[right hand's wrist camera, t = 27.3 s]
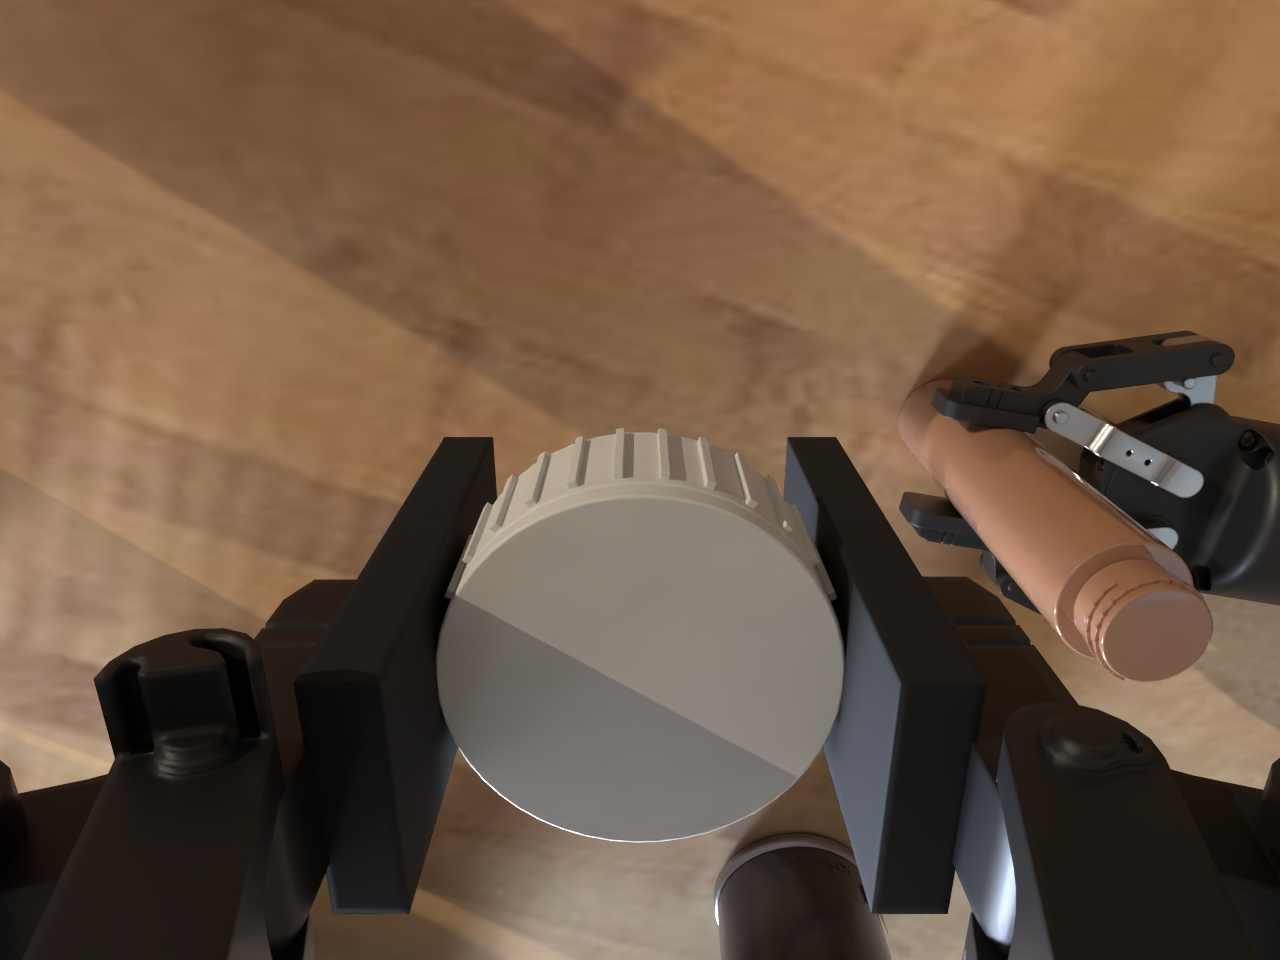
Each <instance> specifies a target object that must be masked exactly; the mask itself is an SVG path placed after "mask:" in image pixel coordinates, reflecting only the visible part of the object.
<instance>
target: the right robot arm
mask: <svg viewBox="0 0 1280 960" xmlns="http://www.w3.org/2000/svg"><path fill="white" fill-rule="evenodd" d="M496 500H497V491H496V475H495V460H494V445H493V437H444V439H443V441H442V442H441V444H440V445H439V447H438V449H437V450H436V452H435V454H434V455H433V457H432V458H431V460H430V462H429V463H428V465H427V466H426V468H425V470H424V471H423V473H422V475H421V476H420V478H419V479H418V481H417V483H416V484H415V486H414V488H413V489H412V491H411V492H410V494H409V496H408V497H407V499H406V500H405V502H404V504H403V505H402V507H401V509H400V510H399V512H398V513H397V515H396V517H395V518H394V520H393V522H392V523H391V525H390V526H389V528H388V530H387V531H386V533H385V535H384V536H383V538H382V539H381V541H380V543H379V544H378V546H377V547H376V549H375V551H374V552H373V554H372V556H371V557H370V559H369V560H368V562H367V564H366V565H365V567H364V569H363V570H362V572H361V573H360V575H359V577H358V578H357V580H314V581H312V582H310V583H309V584H307V585H306V586H304V587H303V588H301V589H300V590H298V591H297V592H295V593H293V594H292V595H290V596H289V597H287V598H286V599H284V600H283V601H282V603H281V604H280V605H279V607H278V608H277V609H276V611H275V612H274V613H273V615H272V616H271V617H270V619H269V620H268V621H267V623H266V628H262V629H261V631H260V632H259V633H258V635H257V636H256V638H255V639H253V638H251V637H250V636H249V635H248V634H246V633H242V632H237V631H233V630H229V629H225V628H220V629H193V630H188V631H183V632H178V633H173V634H168V635H164V636H161V637H158V638H156V639H153V640H150V641H148V642H145V643H142V644H140V645H137V646H134V647H133V648H131V649H130V650H128V651H126V652H125V653H123V654H121V655H120V656H118V657H116V658H115V659H113V660H111V661H110V662H109V663H108V664H107V665H106V666H105V667H104V668H103V669H102V670H101V671H100V673H99V674H98V675H97V676H96V677H95V678H94V682H95V686H96V690H97V693H98V697H99V701H100V704H101V708H102V712H103V716H104V719H105V723H106V727H107V730H108V734H109V738H110V741H111V745H112V749H113V753H114V756H115V760H114V763H113V765H112V767H111V769H110V771H109V773H108V774H106V775H102V776H99V777H95V778H91V779H87V780H82V781H78V782H73V783H68V784H63V785H58V786H53V787H48V788H44V789H39V790H34V791H29V792H24V793H19V794H18V791H17V788H16V785H15V782H14V779H13V776H12V773H11V770H10V768H9V767H8V766H7V765H5V764H4V763H3V762H2V761H1V760H0V960H314V957H315V944H314V937H313V930H312V925H311V919H310V914H309V911H310V909H311V907H312V904H313V902H314V899H315V897H316V895H317V892H318V890H319V887H320V885H321V883H322V880H323V878H324V875H325V873H326V877H327V882H328V888H329V894H330V900H331V906H332V912H333V914H409V913H410V909H411V906H412V902H413V899H414V895H415V892H416V888H417V885H418V882H419V878H420V875H421V871H422V868H423V864H424V861H425V858H426V854H427V851H428V847H429V844H430V840H431V837H432V833H433V830H434V827H435V823H436V820H437V816H438V813H439V809H440V806H441V803H442V799H443V796H444V792H445V789H446V785H447V782H448V778H449V775H450V772H451V768H452V765H453V761H454V758H455V754H456V751H457V748H458V746H457V745H456V743H455V741H454V739H453V737H452V735H451V733H450V731H449V728H448V726H447V724H446V722H445V719H444V716H443V712H442V709H441V705H440V702H439V693H438V683H437V673H436V650H437V644H438V638H439V632H440V629H441V626H442V623H443V620H444V617H445V614H446V611H447V608H448V606H449V603H450V601H451V599H449V598H446V597H445V594H446V591H447V589H448V586H449V584H450V581H451V579H452V577H453V574H454V572H455V569H456V567H457V564H458V562H459V560H460V557H461V555H462V552H463V550H464V547H465V545H466V543H467V540H468V538H469V535H470V534H471V535H473V533H474V530H475V528H476V525H477V523H478V520H479V518H480V515H481V513H482V510H483V508H484V506H485V505H486V504H487V502H488V503H490V504H492V505H493V504H494V503H495V501H496ZM784 500H785V501H786V502H787V504H788V505H789V507H790V506H791V505H793V504H795V505H796V506H797V508H798V509H799V512H800V514H801V517H802V519H803V522H804V524H805V527H806V529H807V532H808V534H809V536H812V538H813V540H814V542H815V545H816V547H817V550H818V552H819V555H820V557H821V559H822V562H823V564H824V567H825V569H826V572H827V574H828V576H829V579H830V581H831V584H832V586H833V588H834V591H835V594H836V596H837V599H835V600H832V601H831V604H832V606H833V608H834V611H835V613H836V616H837V618H838V622H839V626H840V629H841V633H842V637H843V641H844V650H845V669H844V680H843V690H842V699H841V706H840V711H839V713H838V716H837V718H836V721H835V724H834V726H833V729H832V732H831V734H830V736H829V737H828V739H827V741H826V743H825V745H824V746H823V749H824V753H825V756H826V759H827V763H828V766H829V770H830V773H831V777H832V780H833V783H834V787H835V790H836V794H837V797H838V801H839V804H840V807H841V811H842V814H843V818H844V821H845V825H846V828H847V832H848V835H849V838H850V842H851V845H852V849H853V852H854V856H855V859H856V862H857V866H858V869H859V873H860V876H861V880H862V883H863V887H864V890H865V893H866V897H867V900H868V904H869V907H870V911H871V914H948V909H949V903H950V897H951V892H952V886H953V880H954V874H955V869H956V872H957V874H958V877H959V879H960V881H961V884H962V886H963V888H964V891H965V893H966V896H967V898H968V900H969V903H970V905H971V908H972V909H971V914H970V919H969V925H968V930H967V936H966V941H965V946H964V952H963V957H962V960H1280V758H1279V759H1278V760H1277V761H1275V762H1274V763H1273V764H1272V766H1271V769H1270V772H1269V775H1268V778H1267V781H1266V784H1265V788H1264V790H1261V789H1256V788H1252V787H1247V786H1242V785H1237V784H1232V783H1227V782H1222V781H1217V780H1213V779H1208V778H1203V777H1198V776H1193V775H1189V774H1186V773H1182V772H1178V771H1175V770H1171V769H1170V767H1169V765H1168V763H1167V761H1166V759H1165V757H1164V756H1163V755H1162V753H1161V752H1160V751H1159V749H1158V748H1157V747H1156V745H1155V744H1154V743H1153V742H1152V740H1151V739H1150V738H1149V737H1147V736H1146V735H1144V734H1143V733H1142V732H1140V731H1139V730H1137V729H1136V728H1134V727H1133V726H1132V725H1130V724H1129V723H1127V722H1126V721H1123V720H1121V719H1119V718H1116V717H1114V716H1112V715H1109V714H1107V713H1105V712H1103V711H1100V710H1098V709H1093V708H1089V707H1085V706H1080V705H1078V703H1077V702H1076V701H1075V699H1074V698H1073V697H1072V695H1071V694H1070V693H1069V691H1068V690H1067V689H1066V687H1065V686H1064V685H1063V683H1062V682H1061V681H1060V679H1059V678H1058V677H1057V675H1056V674H1055V673H1054V671H1053V670H1052V669H1051V667H1050V666H1049V665H1048V663H1047V662H1046V661H1045V659H1044V658H1043V657H1042V655H1041V654H1040V653H1039V651H1038V650H1037V649H1036V647H1035V646H1034V645H1030V639H1029V638H1028V637H1027V635H1026V634H1025V633H1024V631H1023V630H1022V629H1021V627H1020V626H1019V625H1016V624H1015V619H1014V618H1013V617H1012V615H1011V614H1010V613H1009V611H1008V610H1007V609H1006V607H1005V606H1004V605H1003V603H1002V602H1001V601H1000V599H999V598H998V597H997V596H995V595H994V594H992V593H991V592H989V591H988V590H986V589H984V588H983V587H981V586H980V585H978V584H977V583H975V582H974V581H972V580H970V579H969V578H967V577H922V576H921V574H920V572H919V571H918V569H917V568H916V566H915V564H914V563H913V561H912V559H911V558H910V556H909V555H908V553H907V551H906V550H905V548H904V546H903V545H902V543H901V542H900V540H899V538H898V537H897V535H896V534H895V532H894V530H893V529H892V527H891V525H890V524H889V522H888V521H887V519H886V517H885V516H884V514H883V512H882V511H881V509H880V508H879V506H878V504H877V503H876V501H875V500H874V498H873V496H872V495H871V493H870V491H869V490H868V488H867V487H866V485H865V483H864V482H863V480H862V478H861V477H860V475H859V474H858V472H857V470H856V469H855V467H854V466H853V464H852V462H851V461H850V459H849V457H848V456H847V454H846V453H845V451H844V449H843V448H842V446H841V444H840V443H839V441H838V440H837V438H836V437H788V438H787V453H786V469H785V484H784Z"/></svg>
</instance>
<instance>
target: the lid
mask: <svg viewBox="0 0 1280 960" xmlns="http://www.w3.org/2000/svg"><path fill="white" fill-rule="evenodd" d="M445 597H446V598H449V599H451V601H450V603H449V606H448V608H447V611H446V614H445V617H444V620H443V623H442V626H441V629H440V632H439V638H438V644H437V650H436V673H437V683H438V693H439V702H440V705H441V709H442V712H443V716H444V719H445V722H446V724H447V726H448V728H449V731H450V733H451V735H452V737H453V739H454V741H455V743H456V745H457V746H458V748H459V749H460V751H461V753H462V754H463V756H464V757H465V759H466V760H467V762H468V763H469V764H470V765H471V766H472V768H473V769H474V770H475V771H476V772H477V773H478V775H479V776H480V777H481V778H482V779H483V780H484V781H485V782H486V783H487V784H488V785H489V786H490V787H492V788H493V789H494V790H495V791H496V792H497V793H498V794H499V795H501V796H502V797H503V798H505V799H506V800H508V801H509V802H510V803H512V804H513V805H515V806H516V807H518V808H519V809H521V810H523V811H524V812H526V813H528V814H530V815H532V816H534V817H535V818H537V819H539V820H541V821H544V822H546V823H548V824H551V825H553V826H556V827H558V828H561V829H563V830H567V831H570V832H574V833H577V834H581V835H584V836H588V837H594V838H599V839H605V840H611V841H625V842H660V841H668V840H676V839H683V838H688V837H692V836H696V835H700V834H705V833H708V832H711V831H714V830H717V829H720V828H723V827H726V826H728V825H731V824H733V823H735V822H737V821H739V820H741V819H744V818H746V817H748V816H750V815H752V814H753V813H755V812H757V811H758V810H760V809H762V808H763V807H765V806H766V805H768V804H770V803H771V802H773V801H774V800H775V799H776V798H778V797H779V796H780V795H781V794H783V793H784V792H785V791H786V790H788V789H789V788H790V787H791V786H792V785H793V784H794V783H795V782H796V781H797V780H798V779H799V778H800V777H801V776H802V775H803V774H804V773H805V772H806V771H807V769H808V768H809V767H810V765H811V764H812V763H813V761H814V760H815V759H816V757H817V756H818V755H819V753H820V752H821V750H822V748H823V746H824V745H825V743H826V741H827V739H828V737H829V736H830V734H831V732H832V729H833V726H834V724H835V721H836V718H837V716H838V713H839V711H840V706H841V699H842V690H843V680H844V669H845V650H844V641H843V637H842V633H841V629H840V626H839V622H838V618H837V616H836V613H835V611H834V608H833V606H832V604H831V601H832V600H835V599H837V596H836V594H835V591H834V588H833V586H832V584H831V581H830V579H829V576H828V574H827V572H826V569H825V567H824V564H823V562H822V559H821V557H820V555H819V552H818V550H817V547H816V545H815V542H814V540H813V538H812V536H809V534H808V532H807V529H806V527H805V524H804V522H803V519H802V517H801V514H800V512H799V509H798V508H797V506H796V505H795V504H793V505H791V506H790V507H789V505H788V504H787V502H786V501H785V500H784V499H783V497H782V496H781V495H780V493H779V490H778V488H777V485H776V482H775V480H774V479H773V478H772V477H771V476H768V477H767V478H766V479H765V478H764V477H762V476H761V475H760V474H759V473H758V472H757V471H756V470H754V469H753V468H751V467H750V466H748V465H747V464H746V462H745V458H744V456H743V455H741V454H739V453H736V454H735V456H732V455H730V454H728V453H727V452H725V451H723V450H721V449H719V448H717V447H714V446H711V445H708V441H707V439H706V438H703V437H699V438H698V441H697V440H694V439H690V438H685V437H681V436H676V435H672V434H667V429H658V433H651V432H633V433H625V428H622V429H616V434H612V435H605V436H599V437H595V438H592V439H588V440H585V438H584V436H581V437H578V438H576V440H575V444H572V445H570V446H568V447H565V448H563V449H561V450H558V451H556V452H554V453H552V454H550V455H548V454H547V452H544V453H542V454H540V455H539V456H538V460H537V463H535V464H534V465H532V466H531V467H530V468H528V469H527V470H526V471H525V472H523V473H522V474H521V475H520V476H518V477H516V476H515V475H514V474H512V475H511V476H510V477H509V478H508V479H507V482H506V485H505V487H504V490H503V492H502V494H501V495H500V496H499V497H498V499H497V500H496V501H495V503H494V504H493V505H492V504H490V503H488V502H487V504H486V505H485V506H484V508H483V510H482V513H481V515H480V518H479V520H478V523H477V525H476V528H475V530H474V533H473V535H471V534H470V535H469V538H468V540H467V543H466V545H465V547H464V550H463V552H462V555H461V557H460V560H459V562H458V564H457V567H456V569H455V572H454V574H453V577H452V579H451V581H450V584H449V586H448V589H447V591H446V594H445Z"/></svg>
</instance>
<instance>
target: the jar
mask: <svg viewBox="0 0 1280 960" xmlns="http://www.w3.org/2000/svg"><path fill="white" fill-rule="evenodd" d="M952 383H953V380H951V379H941V380H935V381H932V382H929V383H927V384H924V385H922V386H921V387H919V388H918V389H916V390H915V391H914V392H913V393H912V394H911V395H910V396H909V397H908V398H907V400H906V401H905V403H904V404H903V406H902V408H901V411H900V414H899V418H898V431H899V435H900V438H901V440H902V442H903V444H904V445H905V447H906V448H907V449H908V450H909V452H910V453H911V454H912V455H913V457H914V458H915V459H916V460H917V462H918V463H919V464H920V465H921V466H922V468H923V469H924V470H925V471H926V473H927V474H928V475H929V476H930V478H931V479H932V480H933V481H934V482H935V484H936V485H937V486H938V487H939V489H940V490H941V491H942V492H943V494H944V495H945V496H946V497H947V498H948V500H949V501H950V502H951V503H952V505H953V506H954V507H955V508H956V510H957V511H958V512H959V513H960V514H961V516H962V517H963V518H964V519H965V521H966V522H967V523H968V524H969V525H970V527H971V528H972V529H973V530H974V532H975V533H976V534H977V535H978V537H979V538H980V539H981V540H982V541H983V543H984V544H985V545H986V546H987V548H988V549H989V550H990V551H991V553H992V554H993V555H994V556H995V557H996V559H997V560H998V561H999V562H1000V564H1001V565H1002V566H1003V567H1004V569H1005V570H1006V571H1007V572H1008V573H1009V575H1010V576H1011V577H1012V578H1013V580H1014V581H1015V582H1016V583H1017V585H1018V586H1019V587H1020V588H1021V589H1022V591H1023V592H1024V593H1025V594H1026V596H1027V597H1028V598H1029V599H1030V601H1031V602H1032V603H1033V604H1034V605H1035V607H1036V608H1037V609H1038V610H1039V612H1040V613H1041V614H1042V615H1043V617H1044V618H1045V619H1046V620H1047V621H1048V623H1049V624H1050V625H1051V626H1052V628H1053V629H1054V630H1055V631H1056V633H1057V634H1058V635H1059V636H1060V637H1061V639H1062V640H1063V641H1064V642H1065V643H1066V644H1067V646H1069V647H1070V648H1071V649H1072V650H1074V651H1075V652H1077V653H1079V654H1080V655H1083V656H1085V657H1088V658H1091V659H1095V660H1099V662H1100V663H1101V665H1102V666H1103V667H1104V668H1105V669H1106V670H1107V671H1108V672H1109V673H1111V674H1112V675H1113V676H1115V677H1117V678H1119V679H1121V680H1124V679H1125V678H1126V679H1129V680H1132V681H1138V682H1155V681H1161V680H1164V679H1168V678H1171V677H1173V676H1175V675H1177V674H1179V673H1181V672H1183V671H1185V670H1186V669H1188V668H1189V667H1190V666H1191V665H1193V664H1194V663H1195V662H1196V661H1197V660H1198V659H1199V658H1200V657H1201V655H1202V654H1203V653H1204V651H1205V650H1206V648H1207V646H1208V644H1209V642H1210V639H1211V636H1212V631H1213V621H1212V616H1211V613H1210V610H1209V608H1208V607H1207V605H1206V603H1205V600H1204V597H1203V596H1202V595H1201V594H1200V593H1199V592H1198V591H1197V590H1196V589H1195V588H1194V585H1193V579H1192V576H1191V573H1190V570H1189V568H1188V566H1187V564H1186V563H1185V562H1184V560H1183V559H1182V558H1181V557H1180V556H1179V555H1178V554H1177V553H1175V552H1174V551H1173V550H1172V549H1171V548H1169V547H1168V546H1167V545H1166V544H1164V543H1163V542H1162V541H1161V540H1159V539H1158V538H1157V537H1156V536H1154V535H1153V534H1152V533H1151V532H1149V531H1148V530H1147V529H1146V528H1144V527H1143V526H1142V525H1141V524H1140V523H1138V522H1137V521H1136V520H1135V519H1133V518H1132V517H1131V516H1130V515H1128V514H1127V513H1126V512H1125V511H1123V510H1122V509H1121V508H1120V507H1118V506H1117V505H1116V504H1115V503H1113V502H1112V501H1111V500H1110V499H1109V498H1107V497H1106V496H1105V495H1104V494H1102V493H1101V492H1100V491H1099V490H1097V489H1096V488H1095V487H1094V486H1092V485H1091V484H1090V483H1089V482H1087V481H1086V480H1085V479H1084V478H1083V477H1081V476H1080V475H1079V474H1078V473H1076V472H1075V471H1074V470H1073V469H1071V468H1070V467H1069V466H1068V465H1066V464H1065V463H1064V462H1063V461H1061V460H1060V459H1059V458H1058V457H1056V456H1055V455H1054V454H1053V453H1052V452H1050V451H1049V450H1048V449H1047V448H1045V447H1044V446H1043V445H1042V444H1040V443H1039V442H1038V441H1037V440H1035V439H1034V438H1033V437H1032V436H1030V435H1029V434H1028V433H1027V432H1022V431H1018V430H1012V429H1005V428H999V427H993V426H988V425H982V424H976V423H970V422H964V421H959V420H954V419H950V418H947V417H944V416H942V415H941V414H940V413H939V412H938V411H937V410H936V409H935V408H934V407H933V406H932V405H931V402H932V399H933V396H934V393H935V389H936V388H946V389H951V386H952Z"/></svg>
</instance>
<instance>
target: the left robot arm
mask: <svg viewBox="0 0 1280 960" xmlns="http://www.w3.org/2000/svg"><path fill="white" fill-rule="evenodd" d="M1234 358H1235V355H1234V351H1233V349H1232V348H1231V347H1229V346H1227V345H1225V344H1222V343H1220V342H1218V341H1215V340H1213V339H1210V338H1208V337H1205V336H1202V335H1199V334H1196V333H1193V332H1191V331H1180V332H1172V333H1165V334H1157V335H1150V336H1143V337H1135V338H1128V339H1120V340H1113V341H1105V342H1098V343H1090V344H1083V345H1075V346H1068V347H1062V348H1060V349H1058V350H1056V351H1055V352H1054V353H1053V355H1052V356H1051V358H1050V363H1049V364H1050V370H1049V371H1048V372H1047V373H1046V375H1045V376H1044V377H1043V378H1042V380H1041V381H1039V382H1038V383H1037V384H1035V385H1032V386H1029V387H1021V386H1015V385H1009V384H1004V383H998V382H992V381H987V380H980V379H975V378H970V377H964V378H959V379H954V380H953V383H952V386H951V389H946V388H936V389H935V393H934V396H933V399H932V402H931V405H932V406H933V407H934V408H935V409H936V410H937V411H938V412H939V413H940V414H941V415H942V416H944V417H947V418H950V419H954V420H959V421H964V422H970V423H976V424H982V425H988V426H993V427H999V428H1005V429H1012V430H1018V431H1022V432H1028V433H1034V434H1035V432H1036V429H1037V427H1040V428H1046V429H1050V430H1051V431H1053V432H1055V433H1057V434H1059V435H1061V436H1063V437H1065V438H1067V439H1069V440H1071V441H1073V442H1075V443H1077V444H1079V445H1081V446H1083V447H1084V449H1083V452H1082V454H1081V457H1080V467H1079V475H1080V476H1081V477H1083V478H1084V479H1085V480H1086V481H1087V482H1089V483H1090V484H1091V485H1092V486H1094V487H1095V488H1096V489H1097V490H1099V491H1100V492H1101V493H1102V494H1104V495H1105V496H1106V497H1107V498H1109V499H1110V500H1111V501H1112V502H1113V503H1115V504H1116V505H1117V506H1118V507H1120V508H1121V509H1122V510H1123V511H1125V512H1126V513H1127V514H1128V515H1130V516H1131V517H1132V518H1133V519H1135V520H1136V521H1137V522H1138V523H1140V524H1141V525H1142V526H1143V527H1144V528H1146V529H1147V530H1148V531H1149V532H1151V533H1152V534H1153V535H1154V536H1156V537H1157V538H1158V539H1159V540H1161V541H1162V542H1163V543H1164V544H1166V545H1167V546H1168V547H1169V548H1171V549H1172V550H1173V551H1174V552H1175V553H1177V554H1178V555H1179V556H1180V557H1181V558H1182V559H1183V560H1184V562H1185V563H1186V564H1187V566H1188V568H1189V570H1190V573H1191V576H1192V579H1193V585H1194V588H1195V589H1196V590H1197V591H1198V592H1200V593H1206V594H1212V595H1218V596H1224V597H1231V598H1237V599H1243V600H1249V601H1256V602H1262V603H1268V604H1274V605H1280V424H1274V423H1269V422H1263V421H1257V420H1252V419H1246V418H1241V417H1235V416H1230V415H1229V414H1228V413H1227V412H1226V411H1225V410H1224V409H1223V408H1221V407H1219V406H1217V405H1214V402H1215V392H1216V383H1217V375H1220V374H1223V373H1224V372H1226V371H1227V370H1228V369H1229V368H1230V367H1231V366H1232V364H1233V362H1234ZM1154 383H1155V384H1156V385H1158V386H1160V387H1162V388H1164V389H1166V390H1168V391H1170V392H1172V393H1178V397H1179V398H1178V399H1175V400H1173V401H1170V402H1168V403H1166V404H1163V405H1161V406H1159V407H1156V408H1154V409H1151V410H1149V411H1147V412H1144V413H1142V414H1140V415H1137V416H1135V417H1132V418H1130V419H1128V420H1125V421H1123V422H1121V423H1118V424H1116V423H1114V422H1112V421H1110V420H1109V419H1107V418H1105V417H1103V416H1101V415H1099V414H1097V413H1095V412H1093V411H1091V410H1089V409H1087V408H1085V407H1083V406H1081V405H1080V404H1081V402H1082V401H1083V400H1084V399H1085V397H1086V396H1087V395H1088V394H1089V392H1093V391H1100V390H1108V389H1116V388H1123V387H1131V386H1138V385H1146V384H1154ZM899 509H900V511H901V512H902V514H903V515H904V517H905V518H906V520H907V521H908V522H909V523H910V524H911V525H912V526H913V528H914V529H915V531H916V532H917V534H918V535H919V536H921V537H923V538H924V539H926V540H928V541H931V542H937V543H943V544H952V545H956V546H962V547H968V548H974V549H981V550H983V554H982V555H981V557H980V565H981V567H982V569H983V570H984V571H985V573H986V574H987V575H988V576H989V578H990V579H991V580H992V582H993V583H994V584H995V586H996V587H997V588H998V589H999V591H1000V592H1001V593H1002V595H1003V596H1005V597H1007V598H1009V599H1011V600H1013V601H1015V602H1017V603H1019V604H1021V605H1023V606H1025V607H1027V608H1029V609H1031V610H1033V611H1034V612H1036V613H1038V614H1040V615H1042V614H1041V613H1040V612H1039V610H1038V609H1037V608H1036V607H1035V605H1034V604H1033V603H1032V602H1031V601H1030V599H1029V598H1028V597H1027V596H1026V594H1025V593H1024V592H1023V591H1022V589H1021V588H1020V587H1019V586H1018V585H1017V583H1016V582H1015V581H1014V580H1013V578H1012V577H1011V576H1010V575H1009V573H1008V572H1007V571H1006V570H1005V569H1004V567H1003V566H1002V565H1001V564H1000V562H999V561H998V560H997V559H996V557H995V556H994V555H993V554H992V553H991V551H990V550H989V549H988V548H987V546H986V545H985V544H984V543H983V541H982V540H981V539H980V538H979V537H978V535H977V534H976V533H975V532H974V530H973V529H972V528H971V527H970V525H969V524H968V523H967V522H966V521H965V519H964V518H963V517H962V516H961V514H960V513H959V512H958V511H957V510H956V508H955V507H954V506H953V505H952V503H951V502H950V501H949V500H948V498H943V497H937V496H931V495H925V494H919V493H913V492H905V493H904V494H903V497H902V500H901V503H900V507H899ZM1042 616H1043V615H1042ZM714 903H715V914H716V919H717V922H718V926H719V936H720V947H721V960H892V959H891V956H890V952H889V949H888V946H887V942H886V939H885V936H884V932H883V928H882V925H881V921H880V918H879V915H878V914H871V911H870V907H869V904H868V900H867V897H866V893H865V890H864V887H863V883H862V880H861V876H860V873H859V869H858V866H857V862H856V859H855V856H854V853H853V852H852V851H851V850H849V849H848V848H846V847H845V846H843V845H842V844H840V843H838V842H836V841H833V840H831V839H828V838H825V837H821V836H817V835H811V834H784V835H777V836H773V837H769V838H766V839H763V840H760V841H757V842H755V843H753V844H751V845H749V846H747V847H746V848H744V849H743V850H741V851H740V852H738V853H737V854H736V855H735V856H734V857H732V858H731V859H730V860H729V862H728V863H727V864H726V865H725V866H724V868H723V869H722V871H721V873H720V875H719V877H718V879H717V882H716V885H715V890H714ZM880 916H881V919H882V921H883V923H884V926H885V928H886V925H885V922H884V918H883V916H882V914H880ZM886 930H887V928H886ZM887 933H888V932H887Z"/></svg>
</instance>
